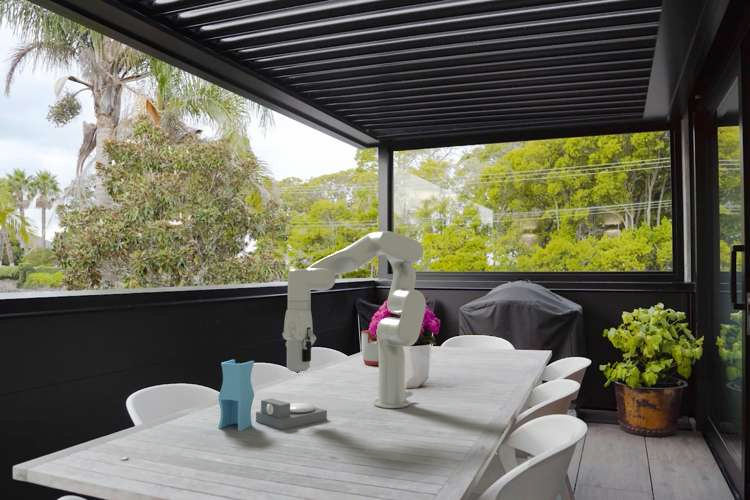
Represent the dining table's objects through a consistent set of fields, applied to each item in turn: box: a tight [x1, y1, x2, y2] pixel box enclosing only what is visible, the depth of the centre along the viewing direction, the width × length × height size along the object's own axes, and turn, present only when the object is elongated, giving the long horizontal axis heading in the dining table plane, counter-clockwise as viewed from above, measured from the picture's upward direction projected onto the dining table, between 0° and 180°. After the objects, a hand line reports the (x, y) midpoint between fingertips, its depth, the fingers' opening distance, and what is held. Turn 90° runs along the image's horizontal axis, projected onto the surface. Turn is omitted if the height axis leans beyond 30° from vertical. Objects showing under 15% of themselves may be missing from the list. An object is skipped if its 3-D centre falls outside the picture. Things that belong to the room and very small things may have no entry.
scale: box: [255, 398, 328, 430], centre depth 197 cm, size 18×14×7 cm
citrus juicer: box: [360, 329, 379, 366], centre depth 313 cm, size 16×17×20 cm
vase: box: [217, 359, 255, 432], centre depth 189 cm, size 8×8×20 cm
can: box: [286, 334, 311, 373], centre depth 199 cm, size 8×8×12 cm
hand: (298, 359), depth 199 cm, fingers closed on can, 7 cm apart
